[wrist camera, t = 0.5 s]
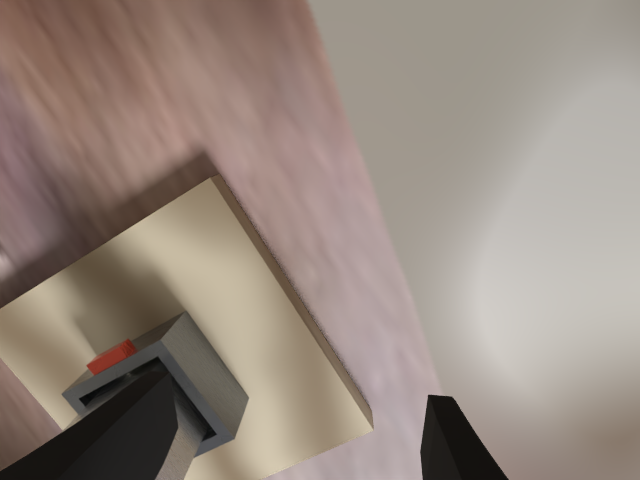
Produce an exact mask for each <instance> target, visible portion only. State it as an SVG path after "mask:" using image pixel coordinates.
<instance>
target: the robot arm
mask: <svg viewBox="0 0 640 480" xmlns="http://www.w3.org/2000/svg"><path fill="white" fill-rule="evenodd" d="M177 430H178V420H177V414H176V407H175V401H174V394H173V388H172V381H171V375H170V372H163V371H151V370H150V371H148V372H147V373H145V374H144V375H142V376H141V377H139V378H138V379H137V380H135V381H134V382H132V383H131V384H130V385H128V386H127V387H126V388H124V389H123V390H121V391H120V392H119V393H117V394H116V395H115V396H113V397H112V398H110V399H109V400H108V401H106V402H105V403H104V404H102V405H101V406H99V407H98V408H97V409H95V410H94V411H92V412H91V413H90V414H88V415H87V416H85V417H84V418H83V419H81V420H80V421H78V422H77V423H75V424H74V425H72V426H71V427H69V428H68V429H66V430H65V431H63V432H62V433H60V434H59V435H57V436H56V437H54V438H53V439H51V440H50V441H48V442H47V443H45V444H44V445H42V446H41V447H39V448H38V449H36V450H35V451H33V452H31V453H30V454H28V455H27V456H25V457H23V458H22V459H20V460H19V461H17V462H15V463H14V464H12V465H10V466H9V467H7V468H5V469H3V470H2V471H0V480H155V479H156V477H157V475H158V473H159V472H160V470H161V468H162V466H163V464H164V462H165V459H166V457H167V455H168V452H169V450H170V448H171V445H172V443H173V440H174V438H175V435H176V432H177ZM420 453H421V464H422V476H423V480H509V479H508V478H507V477H506V476H505V474H504V473H503V471H502V470H501V469H500V467H499V466H498V464H497V463H496V462H495V460H494V459H493V457H492V456H491V455H490V453H489V452H488V450H487V449H486V448H485V446H484V445H483V443H482V442H481V440H480V439H479V437H478V436H477V434H476V433H475V431H474V430H473V428H472V427H471V425H470V423H469V422H468V420H467V419H466V417H465V416H464V414H463V412H462V411H461V409H460V407H459V406H458V404H457V403H456V401H455V400H454V399H453V398H452V397H449V396H438V395H428V401H427V408H426V415H425V422H424V429H423V437H422V444H421V451H420Z"/></svg>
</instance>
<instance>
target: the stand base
mask: <svg viewBox="0 0 640 480" xmlns="http://www.w3.org/2000/svg"><path fill="white" fill-rule="evenodd" d="M186 310H187V312H188V313H189V315H190V316H191V317H192V319H193V320H194V322H195V323H196V324H197V326H198V327H199V328H200V330H201V331H202V333H203V334H204V335H205V337H206V338H207V340H208V341H209V342H210V344H211V345H212V347H213V348H214V349H215V351H216V352H217V354H218V355H219V356H220V358H221V359H222V361H223V362H224V363H225V365H226V366H227V367H228V369H229V370H230V372H231V373H232V374H233V376H234V377H235V379H236V380H237V381H238V383H239V384H240V386H241V387H242V388H243V390H244V391H245V393H246V394H247V395H248V397H249V400H248V403H247V406H246V409H245V412H244V414H243V417H242V420H241V423H240V426H239V428H238V431H237V434H236V437H235V439H234V440H232V441H230V442H227V443H225V444H223V445H221V446H219V447H217V448H215V449H212V450H210V451H208V452H206V453H204V454H202V455H199V456H197V457H195V458H193V460H192V463H191V465H190V467H189V469H188V471H187V473H186V476H185V478H184V480H261V479H263V478H265V477H268V476H270V475H272V474H275V473H277V472H279V471H282V470H284V469H286V468H288V467H291V466H293V465H295V464H298V463H300V462H302V461H305V460H307V459H309V458H311V457H314V456H316V455H318V454H321V453H323V452H325V451H328V450H330V449H332V448H334V447H337V446H339V445H341V444H344V443H346V442H348V441H351V440H353V439H355V438H357V437H360V436H362V435H364V434H367V433H369V432H371V431H374V427H373V417H372V411H371V409H370V408H369V406H368V405H367V403H366V401H365V400H364V398H363V397H362V395H361V394H360V392H359V391H358V389H357V387H356V386H355V384H354V383H353V381H352V380H351V378H350V377H349V375H348V373H347V372H346V370H345V369H344V367H343V366H342V364H341V362H340V361H339V359H338V358H337V356H336V355H335V353H334V352H333V350H332V348H331V347H330V345H329V344H328V342H327V341H326V339H325V338H324V336H323V334H322V333H321V331H320V330H319V328H318V327H317V325H316V323H315V322H314V320H313V319H312V317H311V316H310V314H309V313H308V311H307V309H306V308H305V306H304V305H303V303H302V302H301V300H300V299H299V297H298V295H297V294H296V292H295V291H294V289H293V288H292V286H291V284H290V283H289V281H288V280H287V278H286V277H285V275H284V274H283V272H282V270H281V269H280V267H279V266H278V264H277V263H276V261H275V260H274V258H273V256H272V255H271V253H270V252H269V250H268V249H267V247H266V245H265V244H264V242H263V241H262V239H261V238H260V236H259V235H258V233H257V231H256V230H255V228H254V227H253V225H252V224H251V222H250V221H249V219H248V217H247V216H246V214H245V213H244V211H243V210H242V208H241V206H240V205H239V203H238V202H237V200H236V199H235V197H234V196H233V194H232V192H231V191H230V189H229V188H228V186H227V185H226V183H225V182H224V180H223V178H222V177H221V175H220V174H218V175H216V176H213V177H210V178H208V179H207V180H205V181H204V182H202V183H200V184H199V185H197V186H196V187H194V188H192V189H191V190H189V191H188V192H186V193H184V194H183V195H181V196H180V197H178V198H176V199H175V200H173V201H172V202H170V203H168V204H167V205H165V206H164V207H162V208H160V209H159V210H157V211H156V212H154V213H152V214H151V215H149V216H148V217H146V218H144V219H143V220H141V221H140V222H138V223H136V224H135V225H133V226H132V227H130V228H128V229H127V230H125V231H124V232H122V233H120V234H119V235H117V236H116V237H114V238H112V239H111V240H109V241H108V242H106V243H104V244H103V245H101V246H100V247H98V248H96V249H95V250H93V251H92V252H90V253H89V254H87V255H85V256H84V257H82V258H81V259H79V260H77V261H76V262H74V263H73V264H71V265H69V266H68V267H66V268H65V269H63V270H61V271H60V272H58V273H57V274H55V275H53V276H52V277H50V278H49V279H47V280H45V281H44V282H42V283H41V284H39V285H37V286H36V287H34V288H33V289H31V290H29V291H28V292H26V293H25V294H23V295H21V296H20V297H18V298H17V299H15V300H13V301H12V302H10V303H9V304H7V305H5V306H4V307H2V308H1V309H0V358H1V359H2V360H3V361H4V362H5V364H6V365H7V366H8V367H9V368H10V369H11V371H12V372H13V373H14V374H15V375H16V376H17V378H18V379H19V380H20V381H21V382H22V383H23V385H24V386H25V387H26V388H27V389H28V390H29V391H30V393H31V394H32V395H33V396H34V397H35V398H36V400H37V401H38V402H39V403H40V404H41V405H42V407H43V408H44V409H45V410H46V411H47V412H48V414H49V415H50V416H51V417H52V418H53V419H54V420H55V422H56V423H57V424H58V425H59V426H60V427H61V429H62V430H64V429H65V428H66V427H67V426H68V425H69V424H70V422H71V421H72V420H73V419H74V418H75V417H76V416H77V415H78V414H77V412H76V411H75V410H74V409H73V408H72V407H71V405H70V404H69V403H68V402H67V401H66V399H65V398H64V397H63V396H62V395H61V394H62V393H63V392H64V391H65V390H66V389H67V388H68V387H69V386H70V385H71V384H72V383H74V382H75V381H76V380H77V379H78V378H79V377H80V376H81V375H82V374H83V373H84V372H85V371H86V370H87V369H88V367H87V366H86V365H87V364H88V363H89V362H90V361H92V360H93V359H94V358H95V357H96V356H97V355H99V354H101V353H103V352H105V351H106V350H108V349H110V348H112V347H114V346H115V345H117V344H119V343H121V342H122V341H124V340H126V339H129V340H130V341H132V340H134V339H136V338H137V337H139V336H141V335H143V334H145V333H146V332H148V331H150V330H152V329H154V328H155V327H157V326H159V325H161V324H163V323H164V322H166V321H168V320H170V319H172V318H173V317H175V316H177V315H179V314H181V313H182V312H184V311H186Z"/></svg>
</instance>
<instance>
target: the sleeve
mask: <svg viewBox="0 0 640 480" xmlns="http://www.w3.org/2000/svg"><path fill="white" fill-rule="evenodd" d="M157 356H158V357H159V358H160V360H161V361H162V362H163V364H164V365H165V366H166V368H167V369H168V370H169V372H170V373H171V374H172V376H173V377H174V378H175V380H176V381H177V382H178V383H179V385H180V386H181V387H182V389H183V390H184V391H185V393H186V394H187V395H188V397H189V398H190V399H191V401H192V402H193V403H194V405H195V406H196V407H197V409H198V410H199V411H200V412H201V414H202V415H203V416H204V418H205V419H206V420H207V422H208V423H209V426H208V428H207V430H206V432H205V434H204V437H203V439H202V441H201V443H200V445H199V447H198V450H197V452H196V454H195V456H194V458H195V457H197V456H199V455H202V454H204V453H206V452H208V451H210V450H212V449H215V448H217V447H219V446H221V445H223V444H225V443H227V442H230V441H232V440H234V439H235V437H236V434H237V431H238V428H239V426H240V423H241V420H242V417H243V414H244V412H245V409H246V406H247V403H248V400H249V397H248V395H247V394H246V393H245V391H244V390H243V388H242V387H241V386H240V384H239V383H238V381H237V380H236V379H235V377H234V376H233V374H232V373H231V372H230V370H229V369H228V367H227V366H226V365H225V363H224V362H223V361H222V359H221V358H220V356H219V355H218V354H217V352H216V351H215V349H214V348H213V347H212V345H211V344H210V342H209V341H208V340H207V338H206V337H205V335H204V334H203V333H202V331H201V330H200V328H199V327H198V326H197V324H196V323H195V322H194V320H193V319H192V317H191V316H190V315H189V313H188V312H187V310H186V311H184V312H182V313H181V314H179V315H177V316H175V317H173V318H172V319H170V320H168V321H166V322H164V323H163V324H161V325H159V326H157V327H155V328H154V329H152V330H150V331H148V332H146V333H145V334H143V335H141V336H139V337H137V338H136V339H134V340H132V341H130V340H129V339H126V340H124V341H122V342H121V343H119V344H117V345H115V346H114V347H112V348H110V349H108V350H106V351H105V352H103V353H101V354H99V355H97V356H96V357H95V358H94V359H93V360H92V361H90V362H89V363H88V364H87V365H86V366H87V367H88V369H87V370H86V371H85V372H84V373H83V374H82V375H81V376H80V377H79V378H78V379H77V380H76V381H75V382H74V383H72V384H71V385H70V386H69V387H68V388H67V389H66V390H65V391H64V392H63V393H62V394H61V395H62V396H63V397H64V398H65V399H66V401H67V402H68V403H69V404H70V405H71V407H72V408H73V409H74V410H75V411H76V412H77V414H79V413H80V412H81V411H82V410H83V409H84V408H85V407H86V405H87V404H88V403H89V402H90V401H91V400H92V399H93V398H94V397H95V396H96V395H97V394H98V393H99V392H100V391H101V389H102V388H103V387H104V386H105V385H106V384H107V383H108V382H110V381H112V380H114V379H116V378H118V377H120V376H122V375H123V374H125V373H127V372H129V371H131V370H133V369H135V368H136V367H138V366H140V365H142V364H144V363H146V362H148V361H149V360H151V359H153V358H155V357H157Z"/></svg>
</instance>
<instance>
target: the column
mask: <svg viewBox="0 0 640 480" xmlns="http://www.w3.org/2000/svg"><path fill="white" fill-rule="evenodd" d="M150 370H151V371H163V372H169V370H168V369H167V368H166V366H165V365H164V364H163V362H162V361H161V360H160V358H159V357H158V356H157V357H155V358H153V359H151V360H149V361H148V362H146V363H144V364H142V365H140V366H138V367H136V368H135V369H133V370H131V371H129V372H127V373H125V374H123V375H122V376H120V377H118V378H116V379H114V380H112V381H110V382H108V383H107V384H106V385H105V386H104V387H103V388H102V389H101V391H100V392H99V393H98V394H97V395H96V396H95V397H94V398H93V399H92V400H91V401H90V402H89V403H88V404H87V405H86V407H85V408H84V409H83V410H82V411H81V412H80V413H79V414H78V415H77V416H76V417H75V418H74V419H73V420H72V421H71V422H70V424H69V425H68V426H67V427H66V428H65V429H64V430H63V431H65V430H66V429H68V428H69V427H71V426H72V425H74V424H75V423H77V422H78V421H80V420H81V419H83V418H84V417H85V416H87V415H88V414H90V413H91V412H92V411H94V410H95V409H97V408H98V407H99V406H101V405H102V404H104V403H105V402H106V401H108V400H109V399H110V398H112V397H113V396H115V395H116V394H117V393H119V392H120V391H121V390H123V389H124V388H126V387H127V386H128V385H130V384H131V383H132V382H134V381H135V380H137V379H138V378H139V377H141V376H142V375H144V374H145V373H147V372H148V371H150ZM170 375H171V381H172V388H173V394H174V401H175V407H176V414H177V420H178V430H177V432H176V435H175V438H174V440H173V443H172V445H171V448H170V450H169V452H168V455H167V457H166V459H165V462H164V464H163V466H162V468H161V470H160V472H159V473H158V475H157V477H156V479H155V480H184V478H185V476H186V473H187V471H188V469H189V467H190V465H191V463H192V460H193V458H194V456H195V454H196V452H197V450H198V447H199V445H200V443H201V441H202V439H203V437H204V434H205V432H206V430H207V428H208V426H209V423H208V422H207V420H206V419H205V418H204V416H203V415H202V414H201V412H200V411H199V410H198V409H197V407H196V406H195V405H194V403H193V402H192V401H191V399H190V398H189V397H188V395H187V394H186V393H185V391H184V390H183V389H182V387H181V386H180V385H179V383H178V382H177V381H176V380H175V378H174V377H173V376H172V374H171V373H170ZM63 431H62V432H63ZM62 432H61V433H62Z"/></svg>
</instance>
